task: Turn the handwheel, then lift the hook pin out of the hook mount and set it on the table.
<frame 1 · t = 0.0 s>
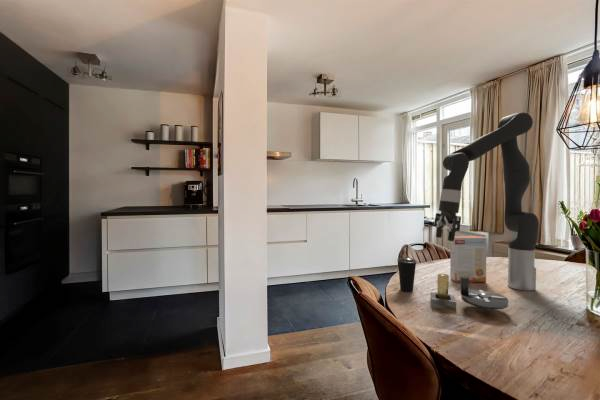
hand: (444, 239, 125), 22 cm above the table, tool pointing down, fingers open, 8 cm apart
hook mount: (466, 311, 106), on the table
hook pin: (442, 304, 109), point 1 cm above the table, touching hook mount
cracker box: (467, 280, 140), on the table
dark tapered cylinder: (406, 292, 125), on the table
handwheel: (483, 290, 104), point 8 cm above the table, hinge at 0.0°
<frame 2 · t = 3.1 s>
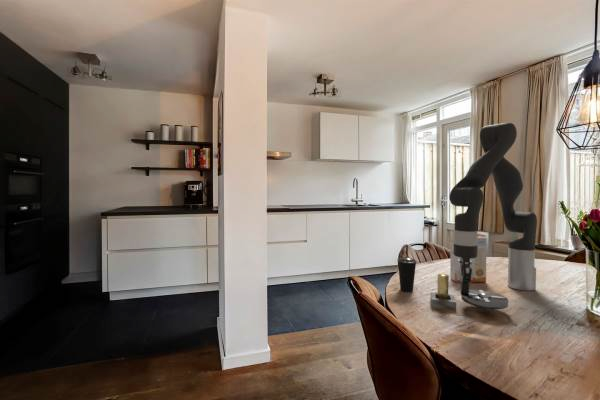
hand: (464, 290, 106), 7 cm above the table, tool pointing down, fingers closed on handwheel, 2 cm apart
handwheel: (483, 290, 104), point 8 cm above the table, hinge at 0.0°, touching gripper
everything else where it was.
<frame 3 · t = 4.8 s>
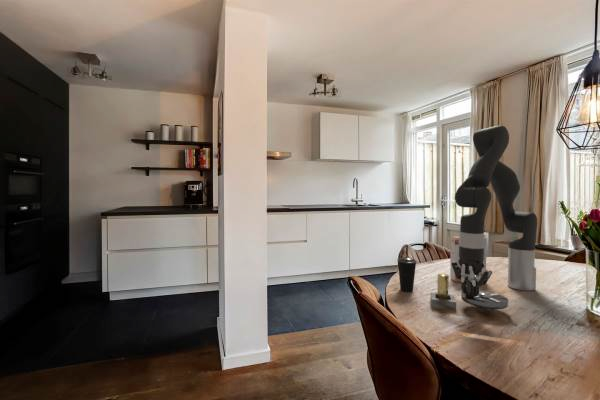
hand: (470, 294, 103), 7 cm above the table, tool pointing down, fingers closed on handwheel, 2 cm apart
handwheel: (483, 290, 104), point 8 cm above the table, hinge at 35.2°, touching gripper
everything else where it was.
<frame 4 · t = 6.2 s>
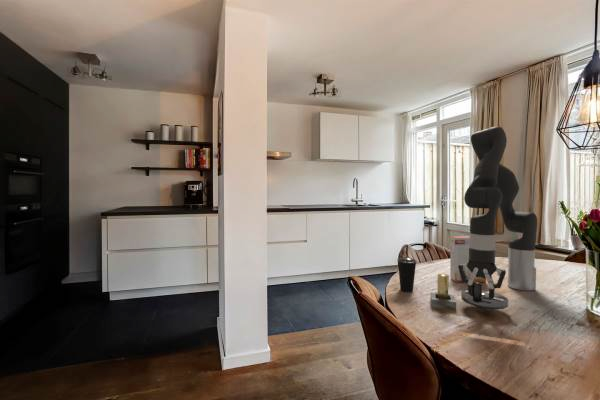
hand: (480, 297, 100), 7 cm above the table, tool pointing down, fingers open, 4 cm apart
handwheel: (483, 290, 104), point 8 cm above the table, hinge at 61.2°
everything else where it was.
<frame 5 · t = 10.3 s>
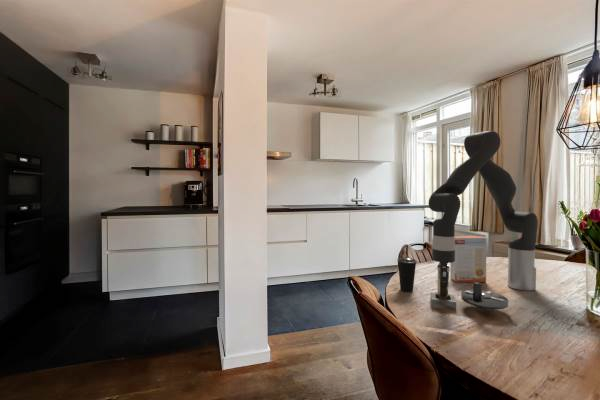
hand: (442, 294, 109), 5 cm above the table, tool pointing down, fingers closed on hook pin, 3 cm apart
hook pin: (442, 304, 109), point 1 cm above the table, touching gripper, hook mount
everything else where it was.
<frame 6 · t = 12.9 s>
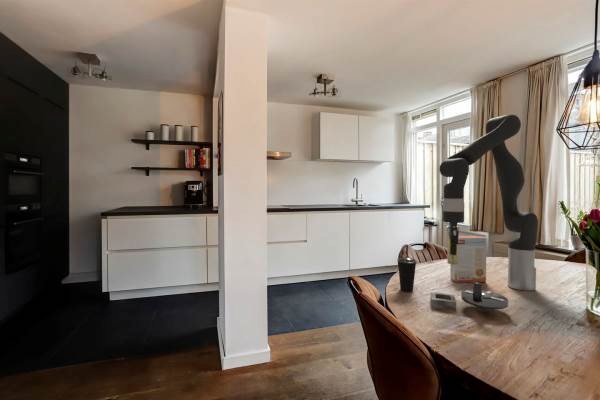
hand: (452, 253, 117), 18 cm above the table, tool pointing down, fingers closed on hook pin, 3 cm apart
hook pin: (452, 263, 117), point 14 cm above the table, touching gripper
everything else where it was.
when the fingers open (5 cm above the table, at t = 15.5 s): hook pin stays where it is, on the table.
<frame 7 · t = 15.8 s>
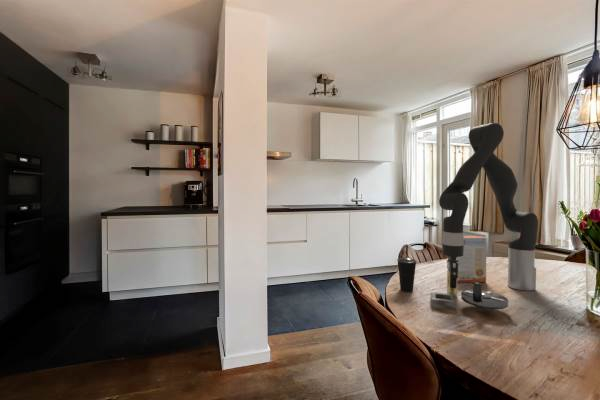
hand: (452, 284, 118), 5 cm above the table, tool pointing down, fingers open, 6 cm apart
hook pin: (451, 298, 118), on the table
everything else where it was.
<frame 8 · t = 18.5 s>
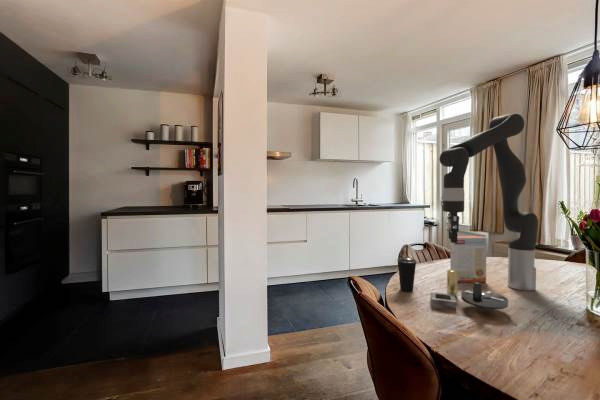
hand: (452, 240, 117), 23 cm above the table, tool pointing down, fingers open, 8 cm apart
nothing on the table moved.
at the end: handwheel at +61° (first picture: +0°); hook pin inside the target area (0.2 cm from its centre), on the table; hook pin tilted 0° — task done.
